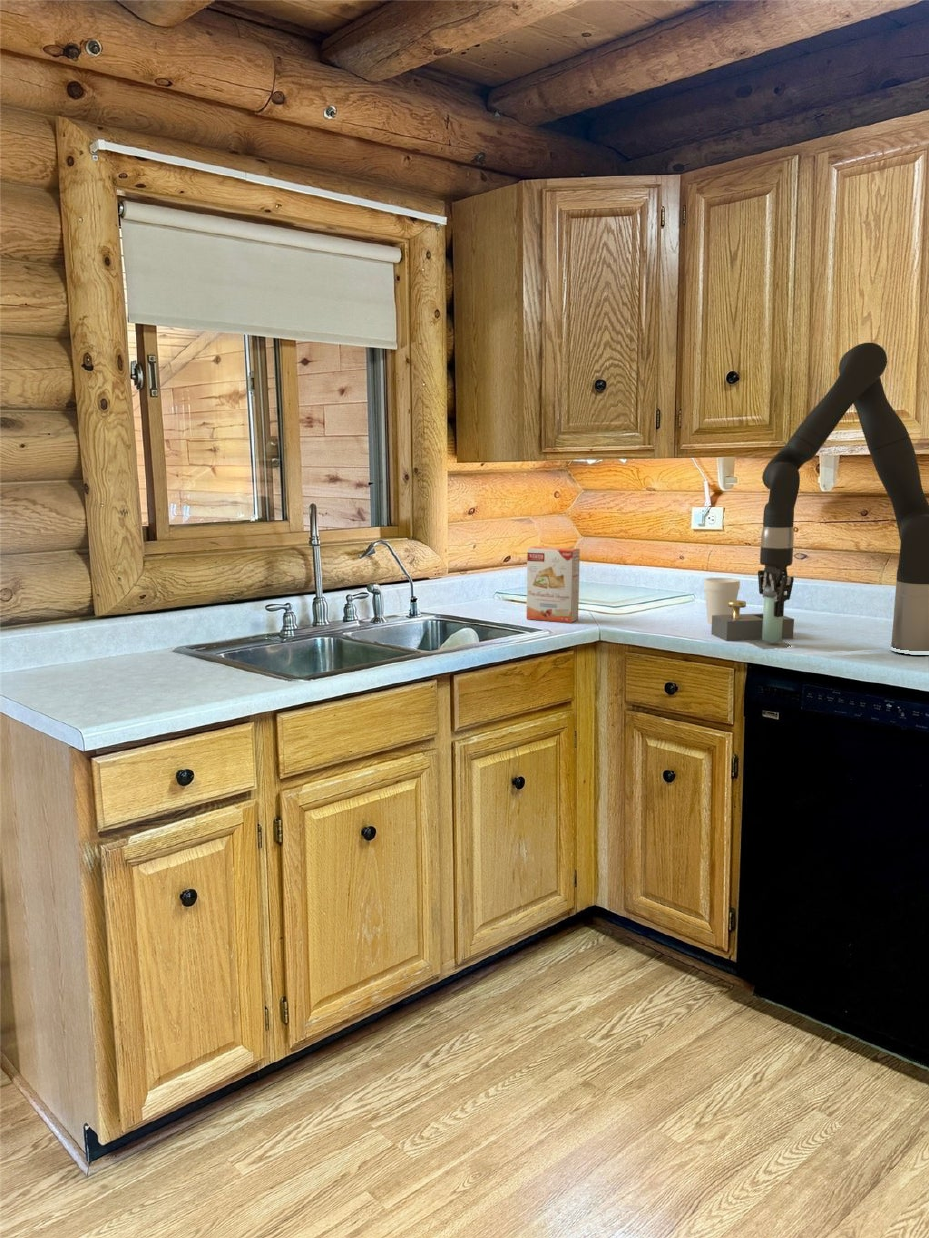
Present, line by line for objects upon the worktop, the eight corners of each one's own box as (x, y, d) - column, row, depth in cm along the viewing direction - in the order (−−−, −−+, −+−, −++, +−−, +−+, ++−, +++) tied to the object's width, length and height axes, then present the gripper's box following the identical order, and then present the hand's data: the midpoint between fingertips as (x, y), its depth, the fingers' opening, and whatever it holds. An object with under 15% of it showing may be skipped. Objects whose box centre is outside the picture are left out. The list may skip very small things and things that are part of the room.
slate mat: (779, 644, 241) (779, 640, 241) (797, 651, 232) (797, 647, 232) (745, 645, 240) (745, 641, 240) (762, 652, 231) (762, 648, 231)
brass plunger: (739, 635, 248) (741, 600, 246) (747, 638, 244) (749, 602, 242) (723, 635, 247) (725, 600, 245) (730, 639, 243) (732, 603, 241)
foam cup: (713, 630, 259) (715, 583, 257) (696, 624, 268) (698, 578, 265) (744, 628, 262) (746, 581, 259) (726, 622, 270) (728, 577, 268)
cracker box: (525, 619, 276) (526, 547, 272) (534, 616, 281) (534, 545, 277) (571, 623, 269) (572, 549, 265) (578, 620, 274) (580, 547, 271)
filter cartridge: (776, 637, 238) (779, 585, 236) (786, 641, 234) (789, 588, 231) (757, 638, 238) (760, 586, 235) (767, 642, 233) (769, 589, 231)
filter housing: (775, 635, 252) (776, 612, 251) (792, 642, 243) (794, 618, 242) (711, 637, 249) (712, 615, 248) (726, 644, 240) (727, 621, 239)
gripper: (806, 548, 225) (802, 619, 228) (777, 542, 239) (773, 609, 242) (776, 548, 224) (773, 620, 227) (748, 542, 238) (745, 610, 241)
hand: (773, 614), depth 235 cm, fingers closed on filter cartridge, 4 cm apart
